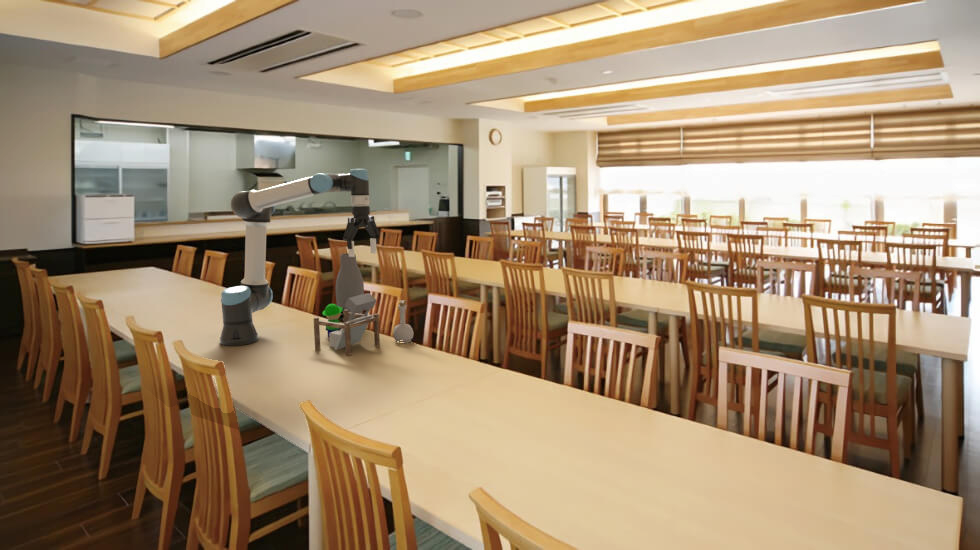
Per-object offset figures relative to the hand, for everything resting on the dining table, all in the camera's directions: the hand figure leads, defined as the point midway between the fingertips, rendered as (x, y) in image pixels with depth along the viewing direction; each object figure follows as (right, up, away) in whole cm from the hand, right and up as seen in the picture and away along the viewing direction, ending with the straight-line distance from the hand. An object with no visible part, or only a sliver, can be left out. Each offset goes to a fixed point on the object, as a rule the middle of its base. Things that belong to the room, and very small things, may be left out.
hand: (362, 255), depth 250 cm
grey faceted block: (+1, -29, -14) cm, 32 cm away
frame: (-4, -39, -9) cm, 40 cm away
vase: (-11, -34, +27) cm, 44 cm away
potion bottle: (+17, -38, 0) cm, 41 cm away
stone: (-6, -36, -9) cm, 38 cm away
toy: (-15, -36, +8) cm, 40 cm away
